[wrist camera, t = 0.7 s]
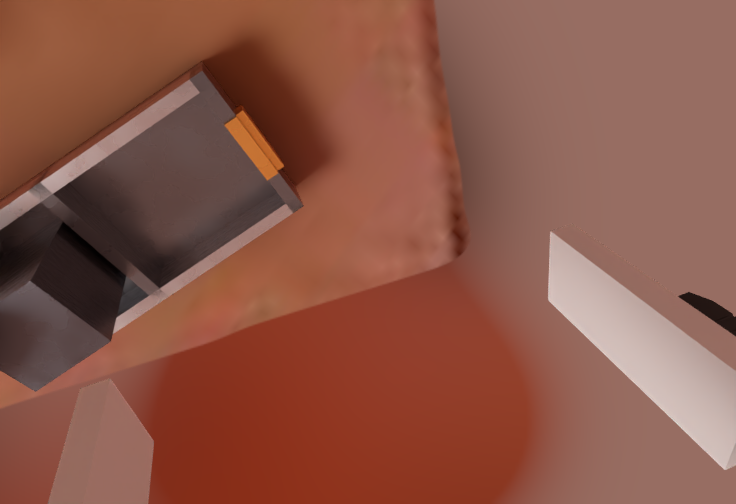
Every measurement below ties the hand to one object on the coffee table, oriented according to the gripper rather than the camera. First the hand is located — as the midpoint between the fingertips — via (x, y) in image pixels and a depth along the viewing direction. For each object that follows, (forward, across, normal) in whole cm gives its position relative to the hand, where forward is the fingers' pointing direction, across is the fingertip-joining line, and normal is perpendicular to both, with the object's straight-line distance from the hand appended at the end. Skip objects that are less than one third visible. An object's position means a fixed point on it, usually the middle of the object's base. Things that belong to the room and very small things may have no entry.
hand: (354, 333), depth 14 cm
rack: (+28, -11, -5) cm, 31 cm away
